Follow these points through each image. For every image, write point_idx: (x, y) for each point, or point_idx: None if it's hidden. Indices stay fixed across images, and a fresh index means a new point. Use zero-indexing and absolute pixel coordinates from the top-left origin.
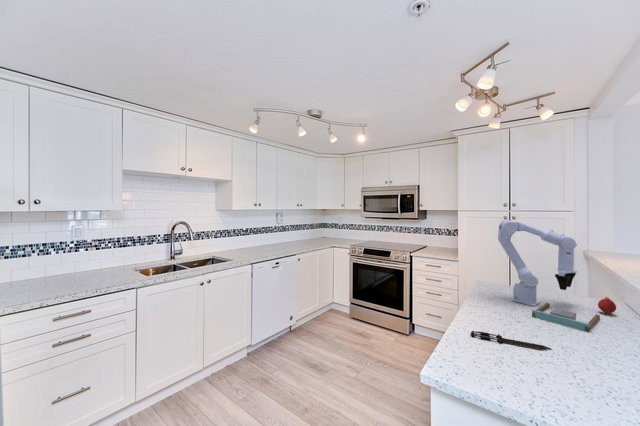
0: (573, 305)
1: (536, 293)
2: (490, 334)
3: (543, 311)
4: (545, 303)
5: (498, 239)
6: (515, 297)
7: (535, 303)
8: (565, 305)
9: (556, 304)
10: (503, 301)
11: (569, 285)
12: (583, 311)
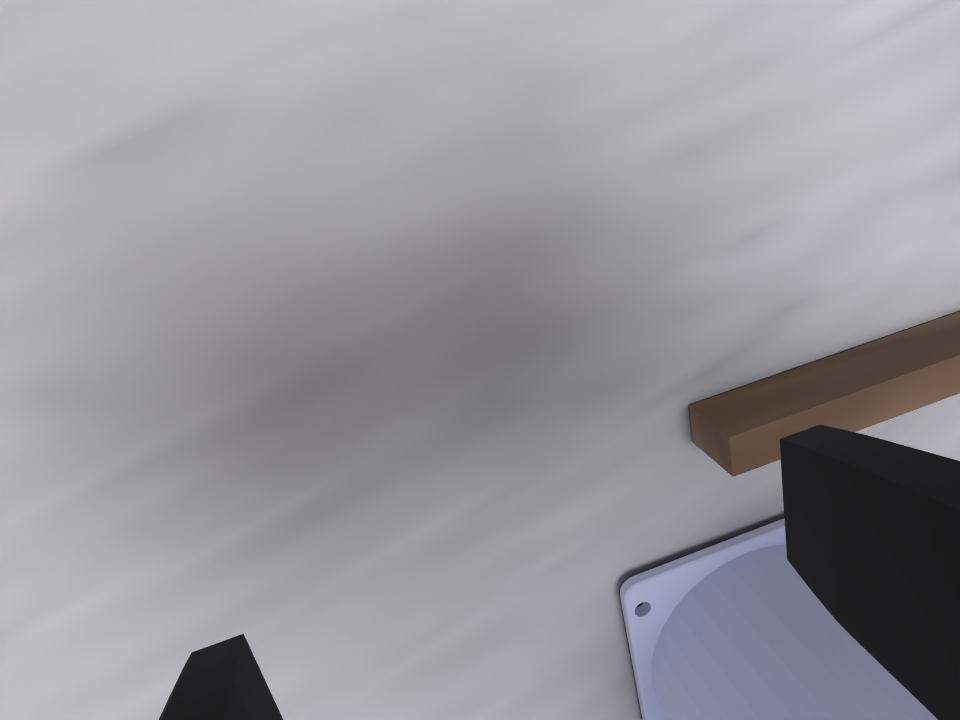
0: (125, 339)
1: (844, 686)
2: None
3: (958, 312)
4: None
5: None
6: None
7: (763, 550)
8: (303, 389)
9: (412, 471)
10: None
11: (250, 699)
12: (343, 32)
